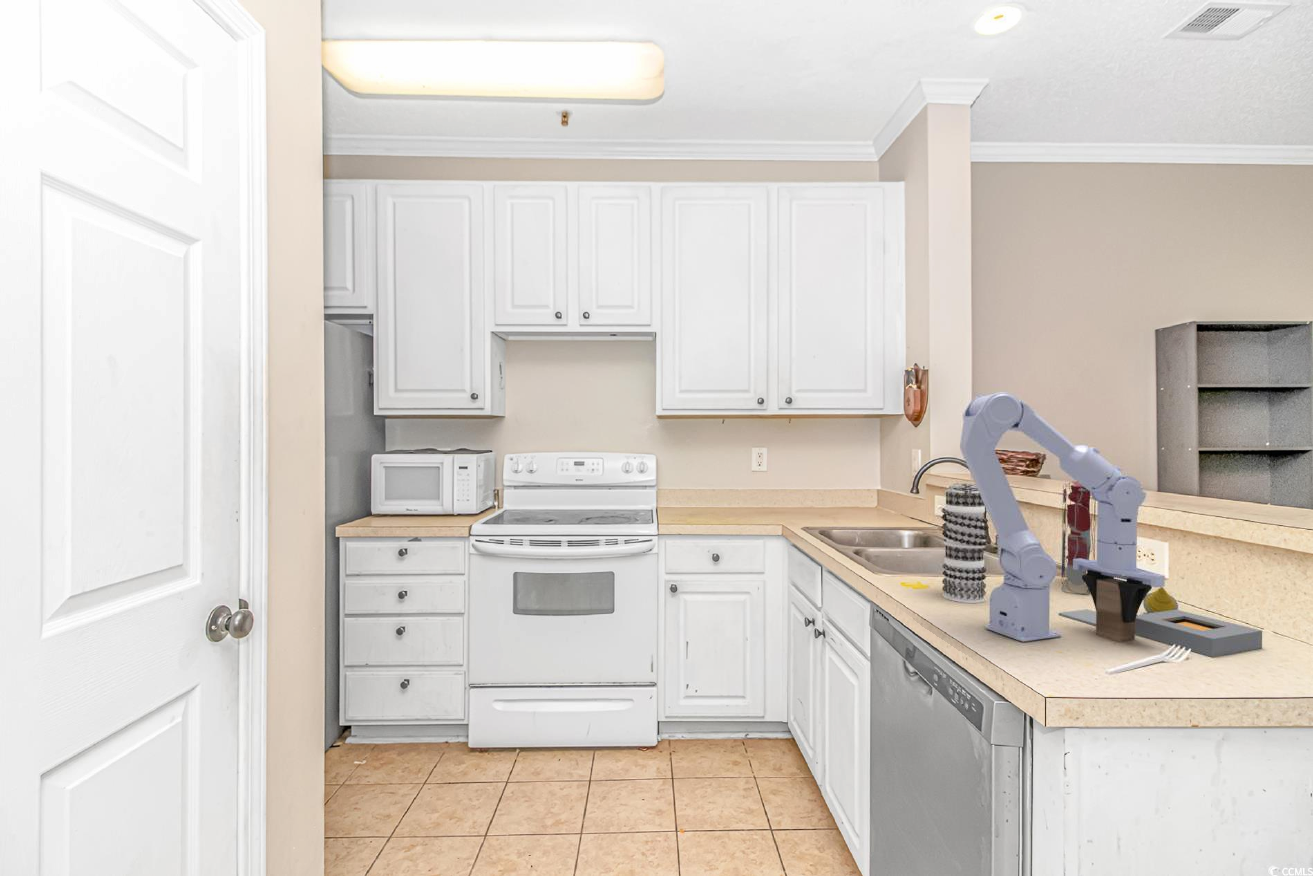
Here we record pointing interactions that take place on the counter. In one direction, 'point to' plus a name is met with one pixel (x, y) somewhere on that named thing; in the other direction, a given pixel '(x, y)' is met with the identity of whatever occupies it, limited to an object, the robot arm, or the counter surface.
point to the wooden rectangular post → (1111, 612)
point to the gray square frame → (1198, 633)
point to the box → (1077, 532)
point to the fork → (1152, 660)
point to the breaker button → (1193, 626)
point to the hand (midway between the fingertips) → (1115, 618)
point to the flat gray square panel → (1081, 616)
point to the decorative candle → (964, 544)
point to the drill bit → (1159, 601)
